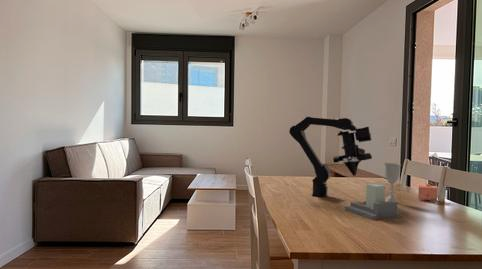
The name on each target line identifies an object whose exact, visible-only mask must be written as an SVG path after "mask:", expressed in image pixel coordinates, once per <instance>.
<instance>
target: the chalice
mask: <svg viewBox="0 0 482 269" xmlns="http://www.w3.org/2000/svg"><path fill="white" fill-rule="evenodd" d="M383 164H384V166H385V168H384V175H385V178H386V179H387V182H388V183H389V184H390V187H389V189H390V191H389V193H390V194H389V196H387V197H386V199H385V202H386V201H396V202H397V203H398V201H397V199H396V197H395V196H394V194H393V193H394V184H396V183H397V181H398V179H399V177H400V171H401V170H400V169H401V168H400V167H401V166H402V164H401V163H394V162H389V163H388V162H386V163H385V162H384V163H383Z"/></svg>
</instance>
